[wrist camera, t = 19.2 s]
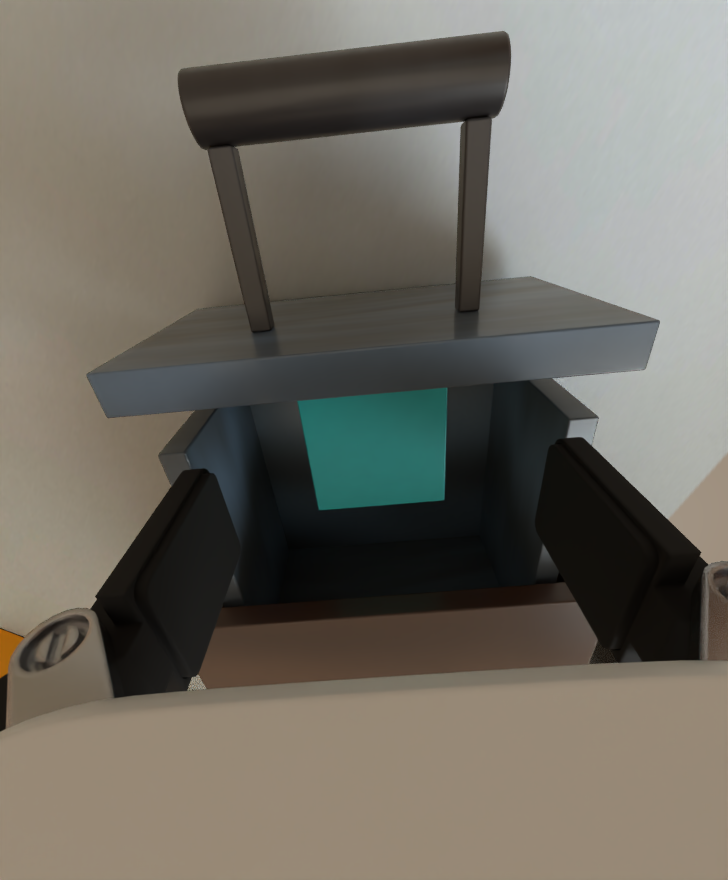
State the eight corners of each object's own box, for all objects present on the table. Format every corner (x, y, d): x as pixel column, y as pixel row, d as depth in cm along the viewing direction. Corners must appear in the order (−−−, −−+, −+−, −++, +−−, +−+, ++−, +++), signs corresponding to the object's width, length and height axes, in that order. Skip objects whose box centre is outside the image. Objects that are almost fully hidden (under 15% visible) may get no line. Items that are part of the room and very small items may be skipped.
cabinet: (242, 472, 20) (171, 631, 13) (513, 449, 20) (615, 599, 12) (292, 632, 28) (267, 794, 20) (490, 617, 27) (544, 778, 20)
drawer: (141, 127, 12) (-83, 36, 6) (557, 81, 12) (782, -70, 6) (269, 546, 22) (235, 678, 16) (499, 528, 22) (557, 655, 15)
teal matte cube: (424, 436, 17) (444, 500, 13) (326, 445, 17) (318, 511, 13) (424, 338, 15) (447, 382, 11) (311, 349, 15) (295, 395, 11)
